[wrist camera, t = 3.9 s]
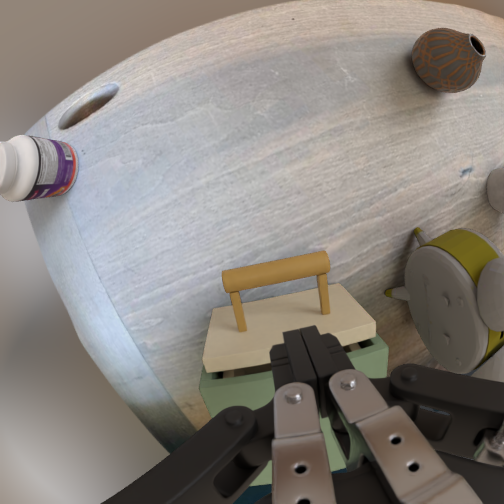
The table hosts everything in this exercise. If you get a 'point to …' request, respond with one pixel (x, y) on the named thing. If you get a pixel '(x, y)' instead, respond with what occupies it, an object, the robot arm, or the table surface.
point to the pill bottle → (36, 168)
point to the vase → (448, 59)
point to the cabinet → (262, 391)
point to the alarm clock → (458, 300)
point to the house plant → (496, 189)
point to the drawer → (279, 315)
